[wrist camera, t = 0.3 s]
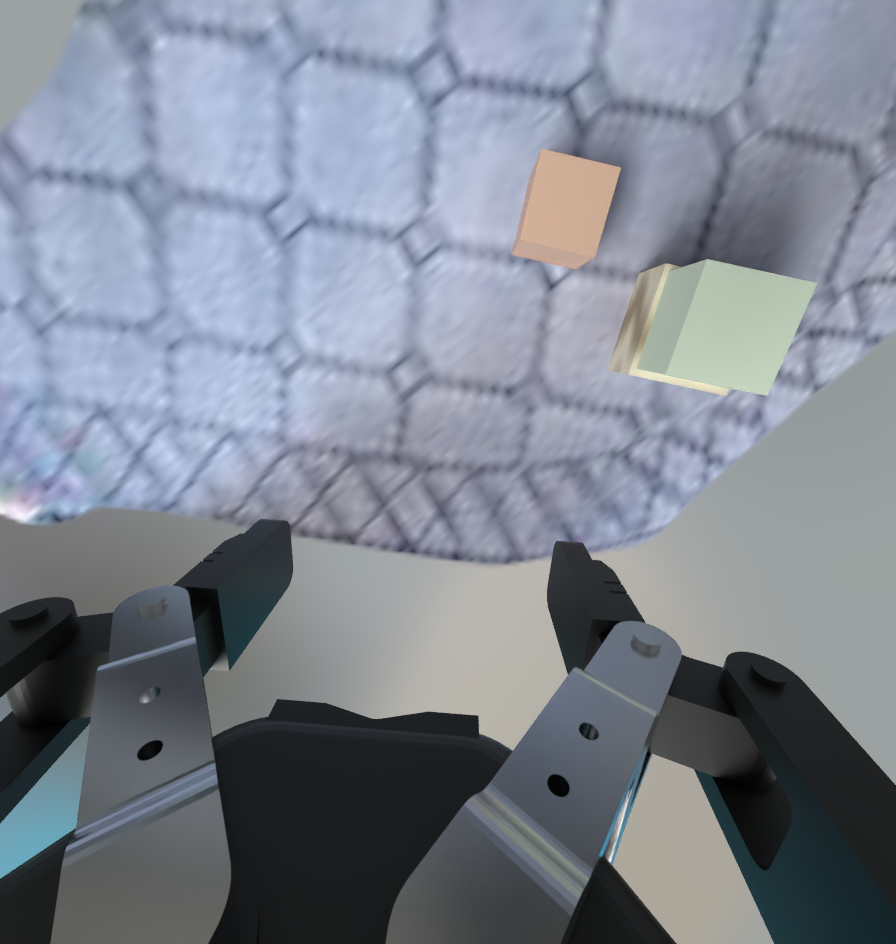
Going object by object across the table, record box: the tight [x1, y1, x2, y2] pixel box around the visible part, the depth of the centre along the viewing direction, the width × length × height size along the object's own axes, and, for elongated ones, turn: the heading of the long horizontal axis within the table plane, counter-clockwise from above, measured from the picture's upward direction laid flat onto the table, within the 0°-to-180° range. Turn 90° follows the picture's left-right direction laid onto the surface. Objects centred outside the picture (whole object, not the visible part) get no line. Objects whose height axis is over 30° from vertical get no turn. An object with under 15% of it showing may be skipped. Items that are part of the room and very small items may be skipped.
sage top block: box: [636, 259, 817, 396], centre depth 29 cm, size 7×7×5 cm
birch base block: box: [608, 263, 729, 396], centre depth 33 cm, size 8×8×5 cm
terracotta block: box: [512, 149, 621, 269], centre depth 31 cm, size 6×6×6 cm
